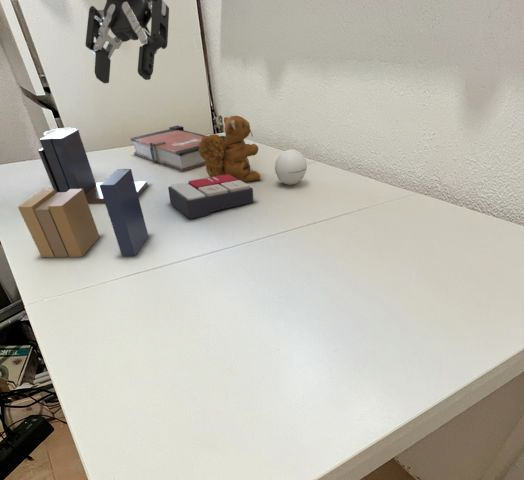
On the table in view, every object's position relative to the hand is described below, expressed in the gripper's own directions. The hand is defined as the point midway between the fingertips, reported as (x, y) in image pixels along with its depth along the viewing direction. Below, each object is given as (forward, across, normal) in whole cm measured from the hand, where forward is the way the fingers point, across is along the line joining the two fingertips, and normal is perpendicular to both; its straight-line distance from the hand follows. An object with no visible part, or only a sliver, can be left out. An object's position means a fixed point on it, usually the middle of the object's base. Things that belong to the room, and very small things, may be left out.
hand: (122, 79), depth 60 cm
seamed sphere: (+4, +17, +39) cm, 43 cm away
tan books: (+27, -11, +2) cm, 29 cm away
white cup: (+5, -45, +31) cm, 55 cm away
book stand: (+13, -24, +21) cm, 35 cm away
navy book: (+25, 0, +6) cm, 26 cm away
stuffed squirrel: (+3, 0, +38) cm, 38 cm away
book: (-6, -24, +48) cm, 54 cm away
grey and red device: (+13, +4, +24) cm, 28 cm away
